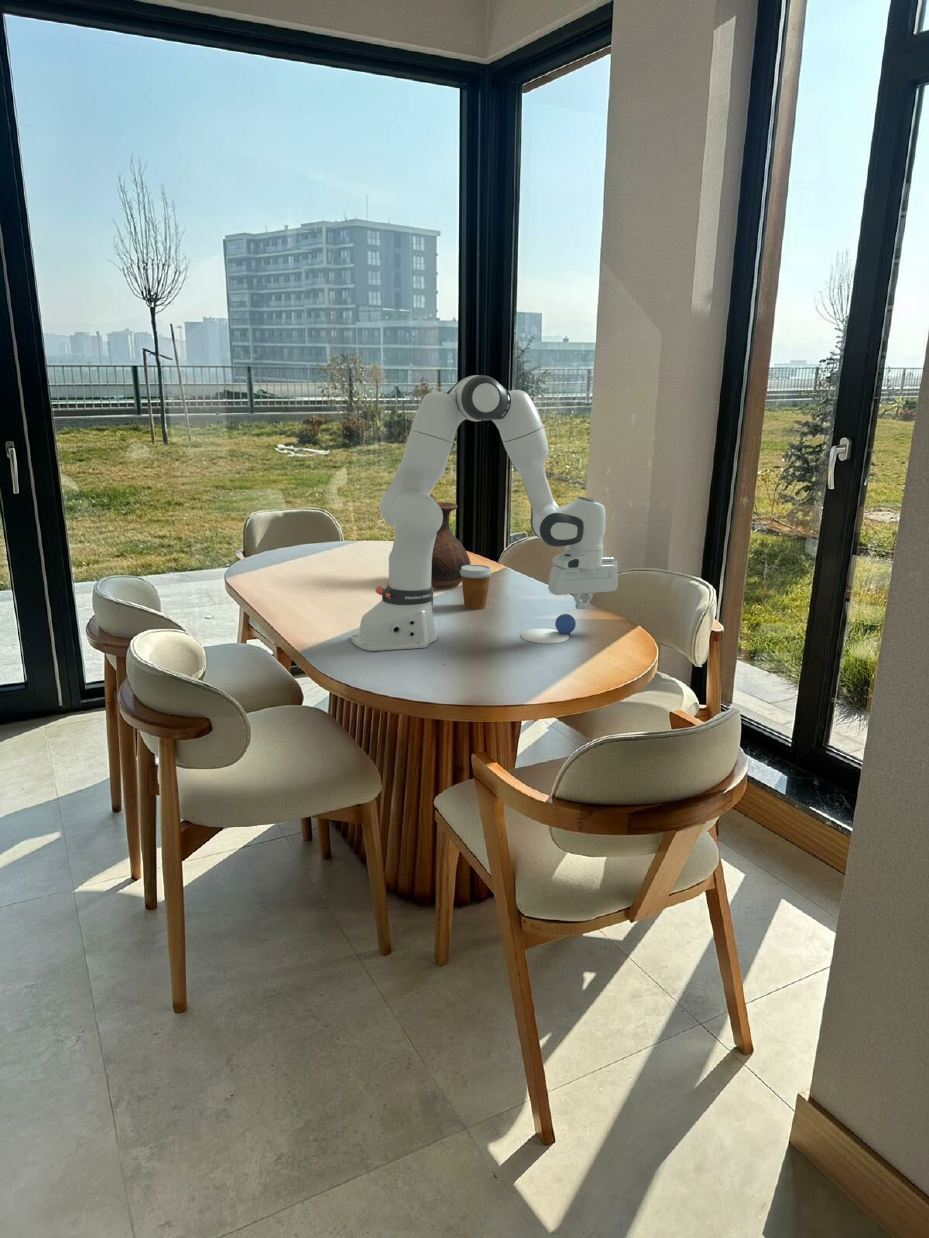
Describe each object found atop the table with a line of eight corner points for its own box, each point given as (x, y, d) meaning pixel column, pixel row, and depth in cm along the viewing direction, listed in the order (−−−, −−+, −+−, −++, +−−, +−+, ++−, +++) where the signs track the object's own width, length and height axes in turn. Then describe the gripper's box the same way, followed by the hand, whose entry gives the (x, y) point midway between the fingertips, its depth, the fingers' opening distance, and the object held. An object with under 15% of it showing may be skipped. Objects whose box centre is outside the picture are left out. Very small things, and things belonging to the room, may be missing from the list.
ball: (582, 630, 234) (565, 640, 233) (571, 624, 239) (555, 634, 238) (576, 613, 232) (559, 623, 230) (565, 607, 237) (548, 617, 235)
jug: (473, 578, 296) (475, 490, 288) (467, 593, 276) (469, 499, 267) (410, 575, 298) (410, 488, 290) (399, 590, 278) (399, 497, 269)
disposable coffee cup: (463, 611, 255) (464, 571, 252) (455, 603, 264) (456, 564, 260) (494, 610, 257) (496, 570, 254) (485, 601, 266) (486, 563, 263)
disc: (535, 645, 224) (535, 645, 224) (511, 632, 236) (511, 631, 236) (578, 640, 230) (578, 639, 230) (552, 627, 241) (552, 626, 241)
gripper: (611, 554, 239) (607, 603, 243) (547, 557, 230) (543, 608, 234) (624, 559, 234) (620, 608, 237) (559, 562, 225) (555, 614, 229)
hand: (581, 608), depth 236 cm, fingers closed
